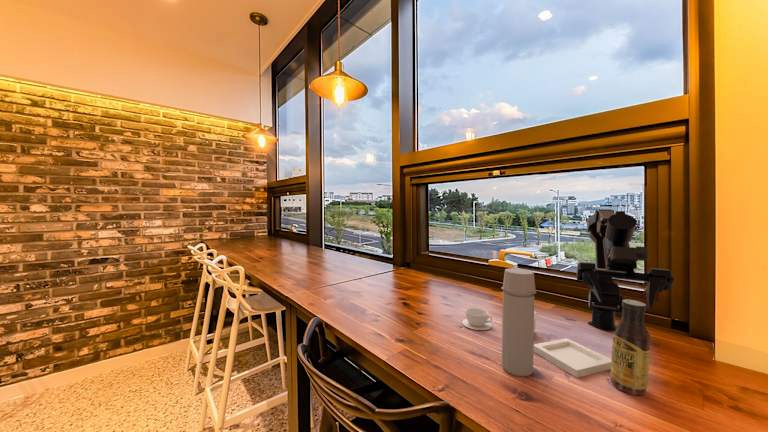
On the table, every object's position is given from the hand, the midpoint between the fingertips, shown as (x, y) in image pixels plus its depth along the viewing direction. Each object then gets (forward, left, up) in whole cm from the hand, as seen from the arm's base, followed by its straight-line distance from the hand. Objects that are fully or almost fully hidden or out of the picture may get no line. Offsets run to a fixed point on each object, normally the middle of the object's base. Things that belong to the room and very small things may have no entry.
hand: (624, 304), depth 68 cm
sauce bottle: (+5, +4, -17) cm, 18 cm away
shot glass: (+5, -26, -17) cm, 31 cm away
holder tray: (+6, -9, -17) cm, 20 cm away
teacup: (+17, -35, -18) cm, 43 cm away
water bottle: (+23, -10, -17) cm, 30 cm away
